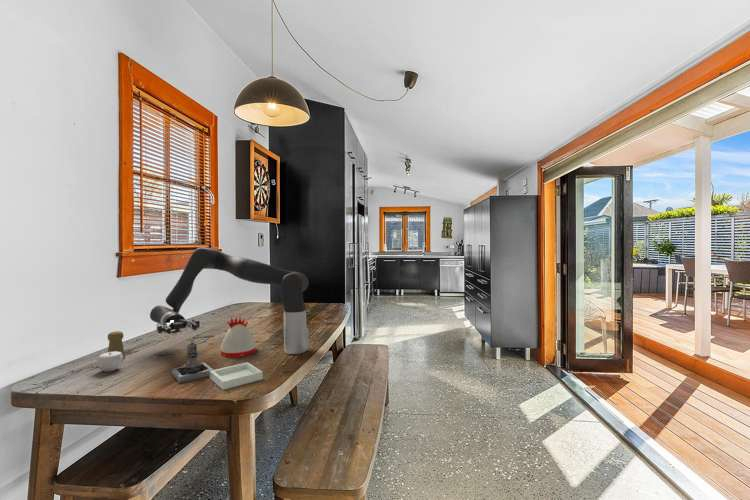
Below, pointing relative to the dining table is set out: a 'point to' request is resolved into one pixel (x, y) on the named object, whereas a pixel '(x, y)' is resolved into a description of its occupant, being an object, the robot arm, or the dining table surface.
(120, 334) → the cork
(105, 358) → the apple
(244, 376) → the tray
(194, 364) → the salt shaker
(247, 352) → the kitchen timer
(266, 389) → the dining table surface
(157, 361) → the dining table surface
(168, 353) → the dining table surface
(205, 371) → the holder
